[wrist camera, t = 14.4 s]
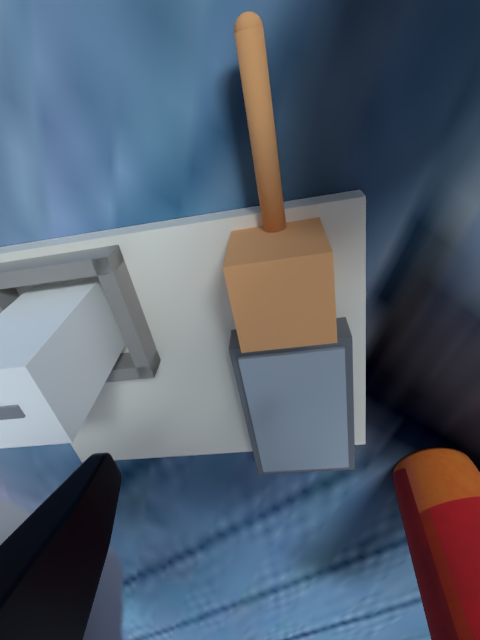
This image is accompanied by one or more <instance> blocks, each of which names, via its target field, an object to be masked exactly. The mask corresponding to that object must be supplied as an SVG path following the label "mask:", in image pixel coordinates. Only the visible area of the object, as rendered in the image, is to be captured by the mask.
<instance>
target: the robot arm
mask: <svg viewBox="0 0 480 640" xmlns="http://www.w3.org/2000/svg"><path fill="white" fill-rule="evenodd" d="M120 486H121V473H120V470H119V469H118V467H117V465H116V463H115V461H114V459H113V458H112V456H111V454H109V453H107V452H105V453H94V454H92V455H91V456H89V457H88V458H87V459H86V460H85V461H84V462H83V463H82V464H81V465H80V466H79V467H78V468H77V469H76V470H75V471H74V472H73V473H72V474H71V475H70V476H69V477H68V478H67V479H66V480H65V481H64V482H63V483H62V484H61V485H60V486H59V487H58V488H57V489H56V490H55V491H54V492H53V493H52V494H51V495H50V496H49V497H48V498H47V499H46V500H45V501H44V502H43V503H42V504H41V505H40V506H39V507H38V508H37V509H36V510H35V511H34V512H33V513H32V514H31V515H30V516H29V517H28V518H27V519H26V520H25V521H24V522H23V523H22V524H21V525H20V526H19V527H18V528H17V529H16V530H15V531H14V532H13V533H12V534H11V535H10V536H9V537H8V538H7V539H6V540H5V541H4V542H3V543H2V544H1V545H0V640H83V637H84V633H85V630H86V626H87V622H88V619H89V615H90V612H91V608H92V605H93V601H94V598H95V594H96V591H97V587H98V584H99V580H100V577H101V573H102V570H103V566H104V563H105V559H106V556H107V552H108V548H109V544H110V540H111V535H112V530H113V524H114V519H115V513H116V508H117V502H118V497H119V491H120Z"/></svg>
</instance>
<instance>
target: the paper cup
mask: <svg viewBox="0 0 480 640" xmlns="http://www.w3.org/2000/svg"><path fill="white" fill-rule="evenodd" d="M393 482H394V487H395V492H396V496H397V501H398V505H399V509H400V513H401V517H402V522H403V526H404V530H405V534H406V538H407V542H408V546H409V550H410V555H411V559H412V563H413V567H414V571H415V575H416V579H417V583H418V587H419V591H420V595H421V599H422V603H423V607H424V611H425V615H426V619H427V623H428V627H429V631H430V635H431V639H432V640H480V472H479V471H478V469H477V468H476V466H475V465H474V464H473V462H472V461H471V459H470V458H469V457H468V456H467V455H466V454H464V453H463V452H461V451H459V450H456V449H452V448H445V447H433V448H426V449H422V450H419V451H416V452H413V453H411V454H409V455H407V456H406V457H404V458H403V459H401V460H400V461H399V462H398V463H397V465H396V466H395V468H394V470H393Z"/></svg>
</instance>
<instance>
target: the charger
mask: <svg viewBox="0 0 480 640" xmlns="http://www.w3.org/2000/svg"><path fill="white" fill-rule="evenodd" d="M125 344H126V343H125V341H124V338H123V336H122V334H121V331H120V329H119V326H118V324H117V322H116V319H115V317H114V314H113V312H112V310H111V307H110V305H109V302H108V300H107V298H106V295H105V293H104V290H103V288H102V286H101V283H100V281H99V278H94V279H87V280H80V281H73V282H66V283H59V284H53V285H46V286H39V287H32V288H29V289H27V290H26V291H25V292H24V293H23V294H22V295H21V296H19V297H18V298H17V299H16V300H15V301H14V302H13V303H11V304H10V305H9V306H8V307H7V308H6V309H5V310H3V311H2V312H1V313H0V448H12V447H26V446H39V445H52V444H65V443H73V441H74V439H75V437H76V436H77V434H78V432H79V430H80V428H81V426H82V424H83V423H84V421H85V419H86V417H87V415H88V413H89V411H90V410H91V408H92V406H93V404H94V402H95V400H96V398H97V397H98V395H99V393H100V391H101V389H102V387H103V385H104V383H105V382H106V380H107V378H108V376H109V374H110V372H111V370H112V369H113V367H114V365H115V363H116V361H117V359H118V357H119V356H120V354H121V352H122V350H123V348H124V346H125Z"/></svg>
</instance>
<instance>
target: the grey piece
mask: <svg viewBox="0 0 480 640" xmlns="http://www.w3.org/2000/svg"><path fill="white" fill-rule="evenodd" d="M336 322H337V342H338V343H331V344H322V345H312V346H303V347H293V348H284V349H274V350H265V351H255V352H246V353H241V349H240V344H239V340H238V335H237V331H236V329H234V330H231V337H230V344H229V354H230V358H231V362H232V366H233V371H234V375H235V379H236V383H237V387H238V392H239V396H240V400H241V404H242V408H243V412H244V417H245V421H246V425H247V429H248V433H249V438H250V442H251V446H252V450H253V454H254V458H255V463H256V467H257V471H258V475H260V474H278V473H296V472H314V471H333V470H351V469H355V440H354V392H353V345H352V335H351V332H350V329H349V326H348V323H347V320H346V317H341V318H336Z"/></svg>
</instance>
